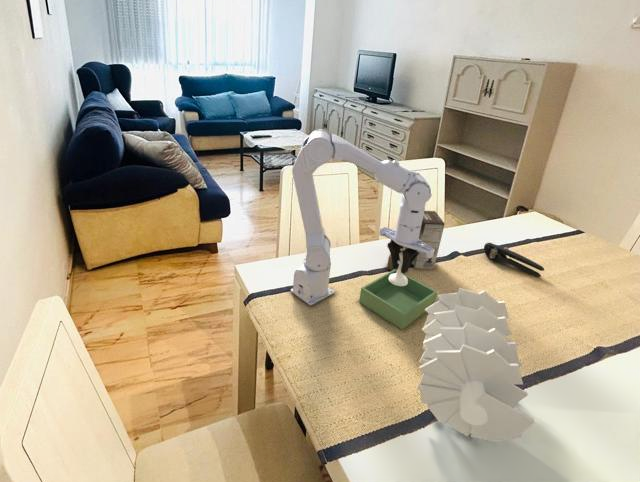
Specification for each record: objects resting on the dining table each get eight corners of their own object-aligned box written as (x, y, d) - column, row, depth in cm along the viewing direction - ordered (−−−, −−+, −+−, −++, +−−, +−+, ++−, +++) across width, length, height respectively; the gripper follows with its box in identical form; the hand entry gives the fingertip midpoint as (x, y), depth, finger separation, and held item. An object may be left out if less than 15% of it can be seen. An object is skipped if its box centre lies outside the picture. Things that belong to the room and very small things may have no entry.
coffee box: (406, 253, 128) (414, 209, 122) (425, 254, 128) (434, 210, 122) (414, 268, 119) (424, 222, 113) (435, 269, 119) (446, 223, 113)
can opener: (477, 257, 127) (481, 242, 125) (486, 251, 132) (490, 236, 130) (537, 282, 115) (542, 266, 113) (544, 274, 120) (550, 259, 118)
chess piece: (403, 288, 98) (410, 254, 94) (385, 281, 101) (391, 247, 97) (410, 280, 102) (417, 247, 98) (392, 273, 104) (398, 240, 101)
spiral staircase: (431, 451, 70) (434, 351, 91) (545, 460, 61) (520, 348, 83) (401, 371, 65) (412, 286, 87) (520, 370, 57) (500, 276, 78)
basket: (401, 329, 93) (405, 314, 91) (358, 301, 102) (361, 287, 101) (434, 305, 102) (437, 291, 101) (392, 282, 112) (394, 268, 110)
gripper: (445, 229, 92) (433, 277, 97) (393, 209, 102) (385, 253, 107) (429, 237, 88) (418, 287, 93) (377, 215, 98) (370, 261, 103)
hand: (400, 269), depth 100 cm, fingers closed on chess piece
